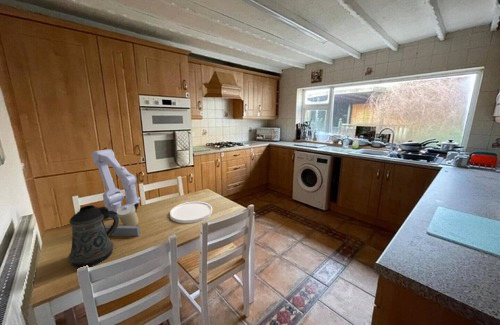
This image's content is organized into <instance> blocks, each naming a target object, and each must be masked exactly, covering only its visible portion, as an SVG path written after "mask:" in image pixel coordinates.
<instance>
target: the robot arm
mask: <svg viewBox="0 0 500 325" xmlns="http://www.w3.org/2000/svg"><path fill="white" fill-rule="evenodd" d="M91 158H92V161H93V164H94V165H96V166H97V168H98V171H99V174H100V178H101V180H102V183H103V185H104V188H105V191H104V192H103V194H102V198H103V201H102V202H103V203H104V205H103V207H106V208H108V210H109V211H114V212H116V213H117V210H118V208H119V207H121V206H122V205H123V204H122V202H123V200H124V199H125V202H126V203H125V204H128V205H125V204H124V205H125V206H124V209H128V207H130V206H131V205H129V204H132V205H134V206H135V210H136V213H137V212H138V211H137V210H138V208H139V204H140V201H141V197H140V196H138V195H137V187H136V184H137V183H138V178H137V177H136V175H135V174H132V173H130V172H129V170H127V168H126V167H125V166H121V164H120V163H119V161H118V160H117V159H116V157H115V153H114V150H113V149H111V148H108V149H101V150H93V152H92V154H91ZM109 166H111V167H112V168H113V169H114V170H115V171H114V173H115V174H116V175H117V177H118V178H119V179H120V181H121V184H122V187H123V190H124V193H125V196H124V194H123V192H122V191H121V189H120V188H117V187H116V185H115V183H114V180H113V177H112V175H111V174H112V173H111V172H110V169H109ZM124 197H125V198H124ZM105 220H113V218H110V217H109V218H106V219H105Z"/></svg>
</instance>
